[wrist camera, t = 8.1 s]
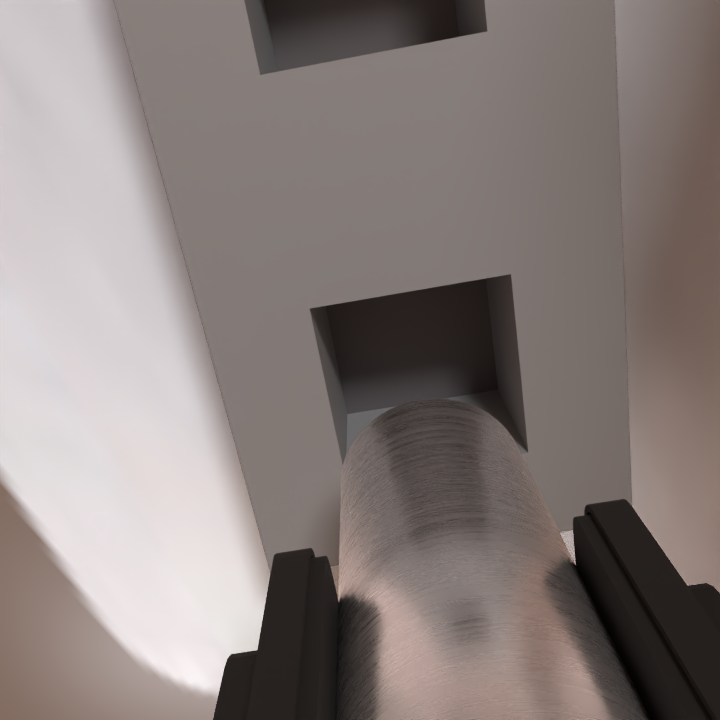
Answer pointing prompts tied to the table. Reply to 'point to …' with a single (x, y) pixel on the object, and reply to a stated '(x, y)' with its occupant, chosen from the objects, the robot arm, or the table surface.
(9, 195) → the table surface
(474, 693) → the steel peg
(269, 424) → the hole block
